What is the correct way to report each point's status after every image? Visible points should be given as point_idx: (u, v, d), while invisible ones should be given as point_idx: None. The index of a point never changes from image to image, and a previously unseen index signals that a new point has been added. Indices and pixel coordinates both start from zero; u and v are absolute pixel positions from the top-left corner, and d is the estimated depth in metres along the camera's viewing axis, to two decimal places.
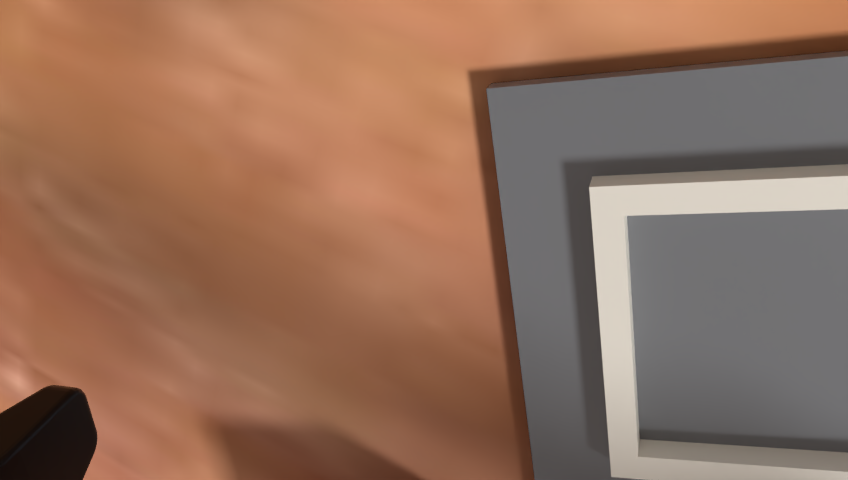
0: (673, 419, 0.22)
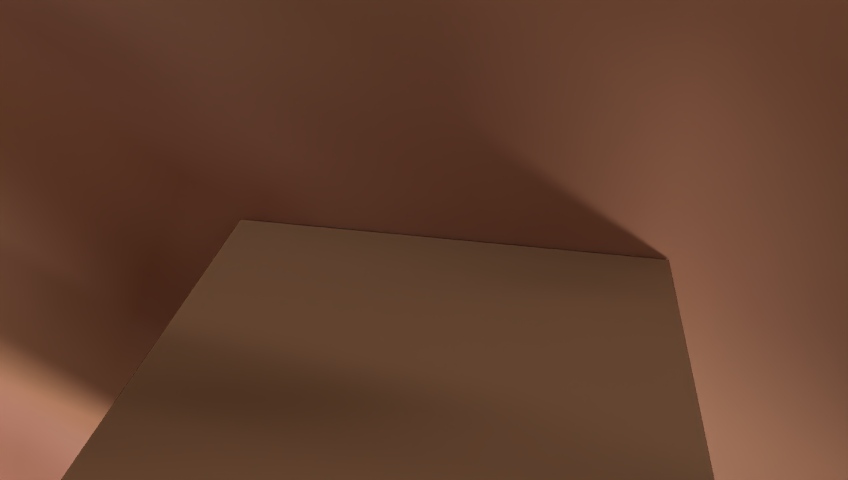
0: None
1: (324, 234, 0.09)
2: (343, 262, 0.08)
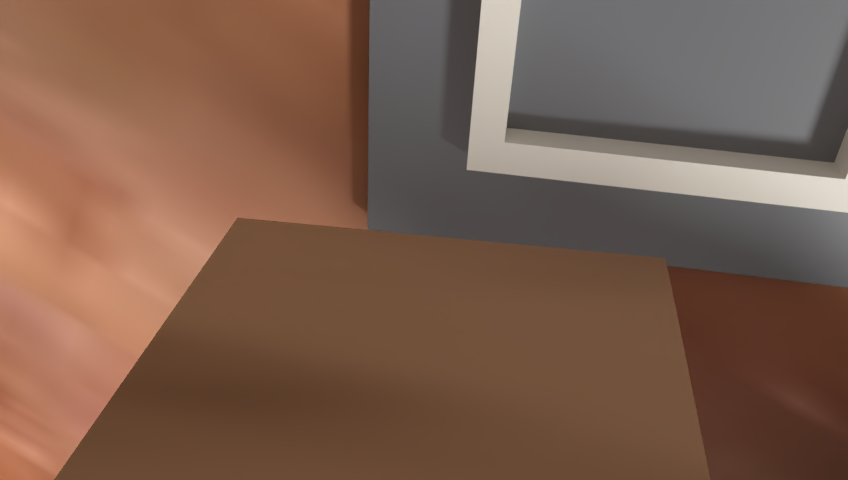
0: (552, 102, 0.17)
1: (321, 232, 0.09)
2: (339, 260, 0.08)
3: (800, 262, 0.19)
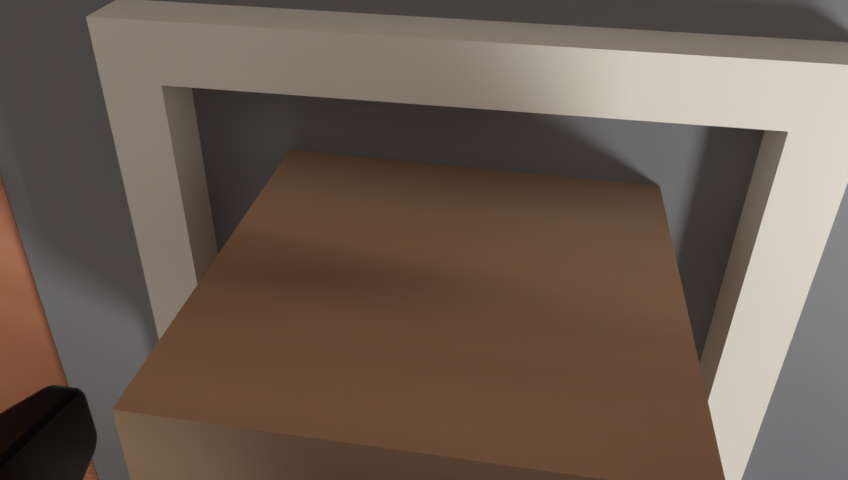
0: None
1: (363, 162, 0.10)
2: (381, 182, 0.10)
3: None
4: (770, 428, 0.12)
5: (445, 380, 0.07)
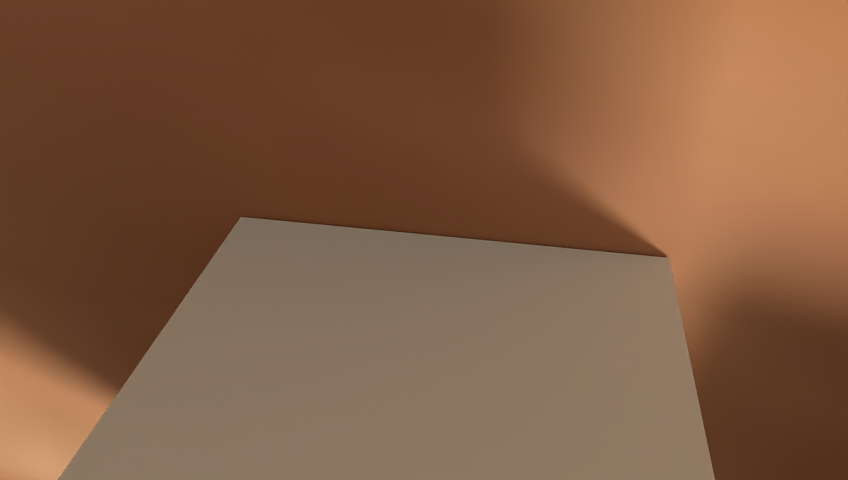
0: None
1: None
2: None
3: None
4: None
5: None
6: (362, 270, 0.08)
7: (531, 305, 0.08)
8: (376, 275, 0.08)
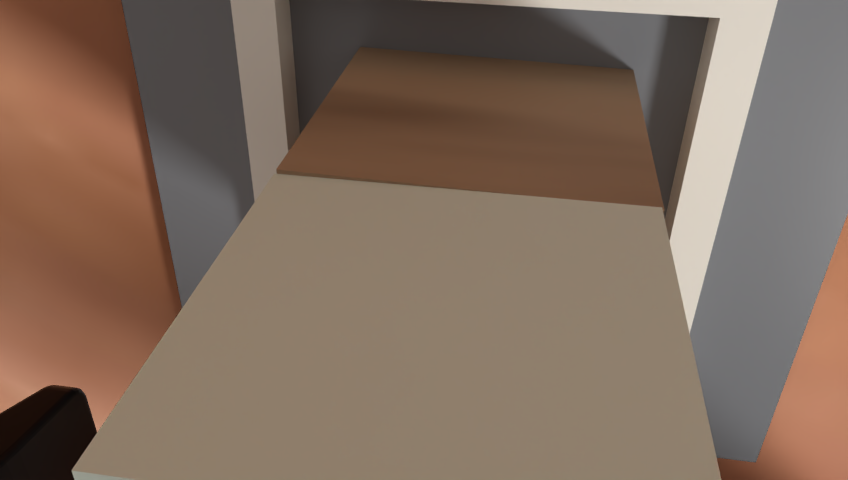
0: None
1: (415, 54, 0.14)
2: (430, 65, 0.13)
3: None
4: (720, 269, 0.16)
5: (486, 160, 0.10)
6: (386, 218, 0.09)
7: (538, 245, 0.09)
8: (398, 221, 0.09)
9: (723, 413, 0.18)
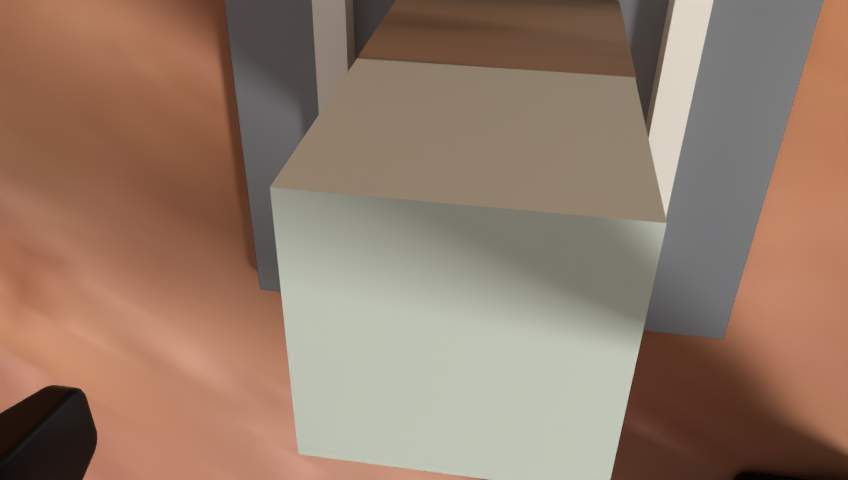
0: None
1: None
2: None
3: None
4: (690, 168, 0.20)
5: (509, 52, 0.14)
6: (441, 81, 0.13)
7: (548, 95, 0.13)
8: (450, 83, 0.13)
9: (695, 295, 0.22)
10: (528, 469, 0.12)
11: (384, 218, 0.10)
